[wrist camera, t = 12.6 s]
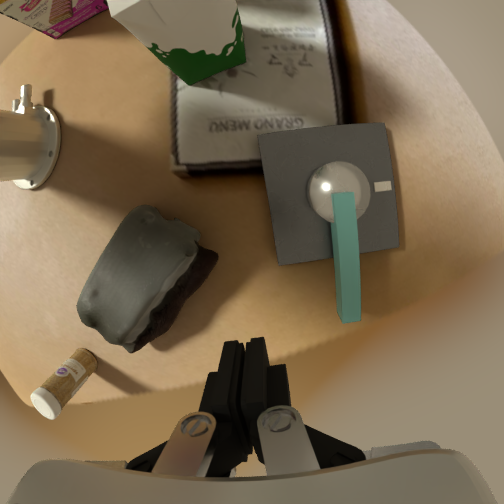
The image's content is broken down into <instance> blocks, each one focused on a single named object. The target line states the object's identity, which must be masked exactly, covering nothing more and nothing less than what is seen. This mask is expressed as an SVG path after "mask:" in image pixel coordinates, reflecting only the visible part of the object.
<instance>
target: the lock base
mask: <svg viewBox="0 0 504 504" xmlns="http://www.w3.org/2000/svg"><path fill="white" fill-rule="evenodd" d="M257 136H258V142H259V148H260V153H261V159H262V165H263V171H264V177H265V183H266V189H267V195H268V201H269V207H270V213H271V220H272V226H273V233H274V239H275V246H276V252H277V259H278V265H279V266H280V265H287V264H294V263H301V262H307V261H314V260H321V259H327V258H334V255H333V243H332V232H331V222H329V221H327V220H325V219H324V218H322V217H321V216H319V215H318V214H317V213H316V212H315V211H314V210H313V209H312V207H311V206H310V204H309V201H308V198H307V184H308V181H309V179H310V177H311V175H312V174H313V173H314V171H315V170H317V169H318V168H319V167H321V166H323V165H325V164H328V163H331V162H336V161H343V162H348V163H351V164H353V165H355V166H356V167H358V168H359V169H360V170H361V171H362V172H363V173H364V174H365V176H366V178H367V180H368V182H369V185H370V193H371V194H370V201H369V205H368V207H367V209H366V211H365V212H364V213H363V214H362V216H360V217H359V218H358V219H357V229H358V243H359V254H360V253H366V252H372V251H379V250H385V249H391V248H397V247H399V231H398V217H397V205H396V195H395V186H394V178H393V171H392V164H391V157H390V151H389V145H388V139H387V134H386V128H385V123H362V124H347V125H334V126H323V127H313V128H304V129H296V130H288V131H281V132H274V133H267V134H261V135H257Z"/></svg>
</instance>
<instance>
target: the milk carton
mask: <svg viewBox="0 0 504 504" xmlns="http://www.w3.org/2000/svg"><path fill="white" fill-rule="evenodd" d="M107 3H108V6H109V10H110V14H111V17H112V18H114V19H115V20H117V21H118V22H119V23H121V24H122V25H123V26H124V27H125V28H126V29H128V30H129V31H130V32H131V33H132V34H133V35H134V36H135V37H136V38H137V39H138V40H139V41H140V42H142V43H143V44H144V45H145V46H146V47H147V48H148V49H149V50H150V51H151V52H152V53H153V54H154V55H155V56H156V57H157V58H158V59H159V60H160V61H161V62H162V63H164V64H165V65H166V66H167V67H168V68H169V69H170V70H171V71H173V72H174V73H175V74H176V75H177V76H178V77H180V78H181V79H182V80H183V81H184V82H185V83H186V84H188V85H192V84H194V83H196V82H198V81H200V80H203V79H205V78H207V77H210V76H212V75H214V74H217V73H219V72H222V71H224V70H227V69H229V68H232V67H235V66H237V65H240V64H243V63H245V62H246V56H245V47H244V38H243V31H242V25H241V20H240V16H239V12H238V7H237V3H236V0H107Z"/></svg>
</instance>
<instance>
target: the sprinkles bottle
mask: <svg viewBox="0 0 504 504" xmlns="http://www.w3.org/2000/svg"><path fill="white" fill-rule="evenodd" d="M96 369H97V361H96V359H95V358H94V356H93V355H92V354H91V353H90V352H89V351H87V350H86V349H83V348H80V349H77V350H76V351H75V353H74V354H73V355H72V356H71V357H70V358H69V359H67V360H66V361H65V362H64V363H63V364H62V365H61V366H60V367H59V368H58V369H57V370H56V371H55V372H54V373H53V374H52V375H51V376H50V377H49V379H47V380H46V382H45V383H44V384H43V385H42V386H40V387H38V388H37V389H36V390H35V391H34V392H33V393H32V394H31V401H32V403H33V405H34V406H35V408H36V409H37V410H38V411H39V412H40V413H41V414H42V415H43V416H45V417H47V418H48V419H55V418H56V417H57V416H58V415H59V414H60V413H61V410H62V408H63V407H64V406H65V404H66V403H67V402H68V401H69V400H70V399H71V398H72V397H73V396H74V395H75V394H76V392H77V391H78V390H79V389H80V388H81V386H82V385H83V384H84V383H85V382H86V381H87V379H88V377H89V376H90V375H91V374H92V373H93V372H94V371H95V370H96Z"/></svg>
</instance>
